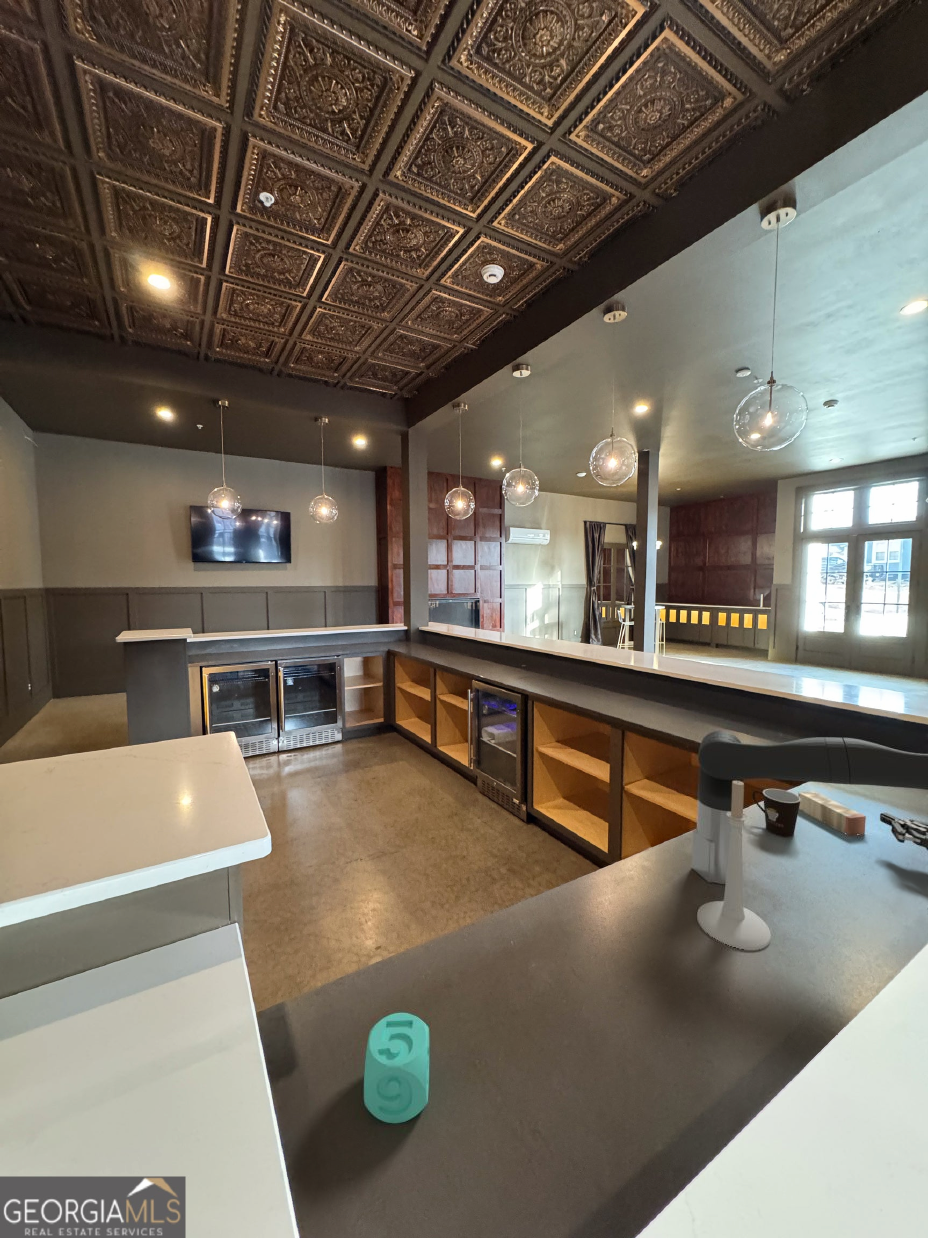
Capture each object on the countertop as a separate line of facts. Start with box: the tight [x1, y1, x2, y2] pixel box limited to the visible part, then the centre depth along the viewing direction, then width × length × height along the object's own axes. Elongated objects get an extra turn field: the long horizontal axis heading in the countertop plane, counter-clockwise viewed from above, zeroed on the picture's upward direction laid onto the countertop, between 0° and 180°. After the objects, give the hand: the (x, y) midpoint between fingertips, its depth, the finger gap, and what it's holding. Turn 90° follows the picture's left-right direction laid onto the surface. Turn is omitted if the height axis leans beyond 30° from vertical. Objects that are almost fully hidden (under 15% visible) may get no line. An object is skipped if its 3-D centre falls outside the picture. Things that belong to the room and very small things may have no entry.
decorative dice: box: [363, 1012, 430, 1124], centre depth 66 cm, size 8×8×8 cm
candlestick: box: [696, 781, 772, 951], centre depth 96 cm, size 13×13×30 cm
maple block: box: [797, 790, 867, 837], centre depth 138 cm, size 5×5×16 cm
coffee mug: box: [752, 788, 801, 838], centre depth 134 cm, size 12×9×10 cm
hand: (882, 816), depth 124 cm, fingers closed
